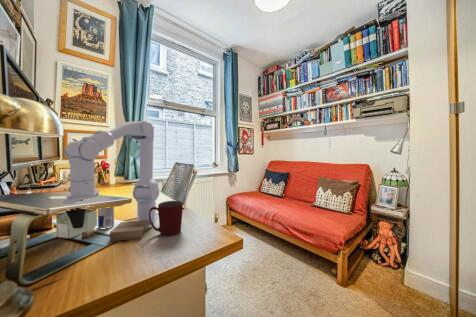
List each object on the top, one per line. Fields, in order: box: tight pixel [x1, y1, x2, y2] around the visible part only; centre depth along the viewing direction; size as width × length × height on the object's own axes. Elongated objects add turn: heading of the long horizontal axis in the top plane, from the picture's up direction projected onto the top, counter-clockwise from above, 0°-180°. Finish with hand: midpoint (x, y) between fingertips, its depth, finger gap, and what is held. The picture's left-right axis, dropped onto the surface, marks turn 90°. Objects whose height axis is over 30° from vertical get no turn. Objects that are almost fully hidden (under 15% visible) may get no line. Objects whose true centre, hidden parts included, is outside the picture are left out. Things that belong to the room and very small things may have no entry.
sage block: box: [68, 209, 98, 233], centre depth 58 cm, size 5×5×5 cm
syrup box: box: [55, 212, 82, 240], centre depth 69 cm, size 6×6×14 cm
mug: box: [149, 200, 184, 237], centre depth 71 cm, size 12×9×11 cm
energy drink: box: [97, 206, 115, 229], centre depth 77 cm, size 5×5×12 cm
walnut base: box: [109, 220, 150, 242], centre depth 71 cm, size 10×10×3 cm
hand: (83, 224), depth 58 cm, fingers closed on sage block, 5 cm apart
